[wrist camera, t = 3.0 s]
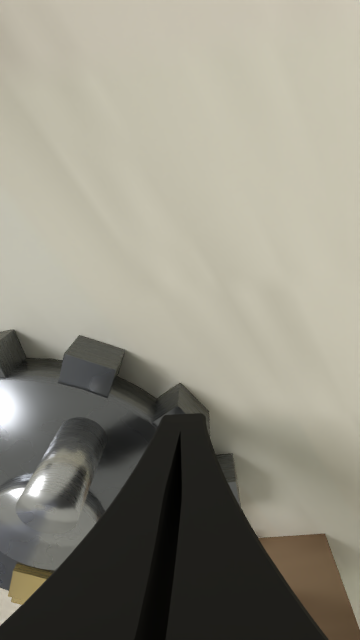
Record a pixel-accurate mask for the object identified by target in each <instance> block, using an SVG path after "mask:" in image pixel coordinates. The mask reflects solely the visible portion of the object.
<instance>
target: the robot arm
mask: <svg viewBox="0 0 360 640" xmlns="http://www.w3.org/2000/svg"><path fill="white" fill-rule="evenodd" d="M0 640H329V639H328V638H327V637H326V635H325V634H324V633H323V631H322V630H321V629H320V627H319V626H318V625H317V623H316V622H315V621H314V619H313V618H312V617H311V615H310V614H309V613H308V611H307V610H306V608H305V607H304V606H303V604H302V603H301V602H300V600H299V599H298V597H297V596H296V595H295V593H294V592H293V590H292V589H291V587H290V586H289V584H288V583H287V582H286V580H285V579H284V577H283V576H282V574H281V573H280V571H279V570H278V568H277V567H276V565H275V564H274V562H273V561H272V559H271V558H270V556H269V555H268V553H267V552H266V550H265V549H264V547H263V545H262V544H261V542H260V540H259V539H258V537H257V535H256V534H255V532H254V530H253V529H252V527H251V525H250V524H249V522H248V520H247V518H246V517H245V515H244V513H243V511H242V510H241V508H240V506H239V504H238V502H237V500H236V498H235V496H234V494H233V492H232V490H231V488H230V486H229V484H228V482H227V480H226V478H225V476H224V473H223V471H222V469H221V466H220V464H219V462H218V459H217V457H216V454H215V452H214V449H213V446H212V443H211V440H210V437H209V433H208V430H207V425H206V416H205V415H204V414H202V413H194V414H173V415H164V416H163V417H162V418H161V421H160V423H159V425H158V427H157V429H156V431H155V433H154V435H153V437H152V439H151V441H150V443H149V445H148V447H147V448H146V450H145V452H144V453H143V455H142V457H141V459H140V460H139V462H138V464H137V465H136V467H135V469H134V470H133V472H132V473H131V475H130V476H129V478H128V479H127V481H126V482H125V484H124V485H123V487H122V488H121V490H120V491H119V493H118V494H117V496H116V497H115V499H114V500H113V501H112V503H111V504H110V506H109V507H108V508H107V510H106V511H105V512H104V514H103V515H102V516H101V517H100V519H99V520H98V521H97V523H96V524H95V525H94V526H93V528H92V529H91V530H90V531H89V533H88V534H87V535H86V536H85V537H84V538H83V540H82V541H81V542H80V543H79V544H78V546H77V547H76V548H75V549H74V550H73V552H72V553H71V554H70V555H69V556H68V557H67V558H66V559H65V561H64V562H63V563H62V564H61V565H60V566H59V567H58V568H57V569H56V570H55V571H54V572H53V573H52V574H51V576H50V577H49V578H48V579H47V580H46V581H45V582H44V583H43V584H42V585H41V586H40V587H39V588H38V589H37V590H36V591H35V592H34V593H33V594H32V595H31V596H30V597H29V598H28V599H27V600H26V601H25V602H24V604H23V605H22V606H20V607H19V608H18V609H17V610H16V611H15V612H14V613H13V614H12V615H11V616H10V617H9V618H8V619H7V620H6V621H5V622H4V623H3V624H2V625H1V626H0Z"/></svg>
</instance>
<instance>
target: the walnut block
mask: <svg viewBox="0 0 360 640" xmlns="http://www.w3.org/2000/svg"><path fill="white" fill-rule="evenodd" d="M258 539H259V540H260V542H261V544H262V545H263V547H264V549H265V550H266V552H267V553H268V555H269V556H270V558H271V559H272V561H273V562H274V564H275V565H276V567H277V568H278V570H279V571H280V573H281V574H282V576H283V577H284V579H285V580H286V582H287V583H288V584H289V586H290V587H291V589H292V590H293V592H294V593H295V595H296V596H297V597H298V599H299V600H300V602H301V603H302V604H303V606H304V607H305V608H306V610H307V611H308V613H309V614H310V615H311V617H312V618H313V619H314V621H315V622H316V623H317V625H318V626H319V627H320V629H321V630H322V631H323V633H324V634H325V635H326V637H327V638H328V639H329V640H360V629H359V627H358V624H357V621H356V618H355V615H354V613H353V610H352V607H351V604H350V602H349V599H348V596H347V593H346V591H345V588H344V585H343V582H342V580H341V577H340V574H339V571H338V569H337V566H336V563H335V560H334V558H333V555H332V552H331V549H330V547H329V544H328V541H327V538H326V535H325V534H314V535H299V536H283V537H268V538H258Z"/></svg>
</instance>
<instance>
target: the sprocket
mask: <svg viewBox="0 0 360 640" xmlns="http://www.w3.org/2000/svg"><path fill="white" fill-rule="evenodd" d="M124 353H125V350H123V349H120V348H117V347H114V346H111V345H108V344H105V343H102V342H99V341H96V340H92V339H89V338H86V337H83V336H80V335H79V336H78V337H77V339H76V340H75V341H74V342H73V344H72V345H71V346H70V347H69V349H68V350H67V351H66V352H65V353H64V358H63V361H60V360H53V359H36V358H26V356H25V354H24V352H23V350H22V347H21V345H20V343H19V341H18V338H17V336H16V334H15V332H14V330H8V331H2V332H0V588H3V589H5V590H8V591H9V594H8V596H9V597H12V600H11V602H13V603H17V604H21V605H23V604H24V602H25V601H26V600H27V599H28V598H29V597H30V596H31V595H32V594H33V593H34V592H35V591H36V590H37V589H38V588H39V587H40V586H41V585H42V584H43V583H44V582H45V581H46V580H47V579H48V578H49V577H50V576H51V574H52V573H53V572H54V571H55V570H56V569H57V568H58V567H59V566H60V565H61V564H62V563H63V562H64V561H65V559H66V558H67V557H68V556H69V555H70V554H71V553H72V552H73V550H74V549H75V548H76V547H77V546H78V544H79V543H80V542H81V541H82V540H83V538H84V537H85V536H86V535H87V534H88V533H89V531H90V530H91V529H92V528H93V526H94V525H95V524H96V523H97V521H98V520H99V519H100V517H101V516H102V515H103V514H104V512H105V511H106V510H107V508H108V507H109V506H110V504H111V503H112V501H113V500H114V499H115V497H116V496H117V494H118V493H119V491H120V490H121V488H122V487H123V485H124V484H125V482H126V481H127V479H128V478H129V476H130V475H131V473H132V472H133V470H134V469H135V467H136V465H137V464H138V462H139V460H140V459H141V457H142V455H143V453H144V452H145V450H146V448H147V447H148V445H149V443H150V441H151V439H152V437H153V435H154V433H155V431H156V429H157V427H158V425H159V423H160V421H161V418H162V417H163V416H164V415H173V414H194V413H202V414H204V415H205V416H206V425H207V430H208V433H209V437H210V424H209V411H208V410H207V409H206V408H205V407H204V406H203V405H202V404H201V403H200V402H199V401H198V400H197V399H196V398H195V397H194V396H193V395H192V394H191V393H190V392H189V391H188V390H187V389H186V388H185V387H184V386H183V385H182V384H181V383H179V384H178V385H176V386H175V387H173V388H172V389H170V390H169V391H168V392H166V393H165V394H163V395H162V396H160V397H159V398H158V399H156V398H154V397H153V396H151V395H150V394H148V393H147V392H145V391H144V390H142V389H141V388H139V387H137V386H135V385H133V384H131V383H129V382H128V381H126V380H124V379H122V378H120V377H118V376H117V375H118V372H119V369H120V366H121V362H122V359H123V356H124ZM216 457H217V459H218V462H219V464H220V466H221V469H222V471H223V473H224V476H225V478H226V480H227V482H228V484H229V486H230V488H231V490H232V492H233V494H234V496H235V498H236V500H237V502H238V504H239V506H240V498H239V490H238V483H237V477H236V471H235V465H234V460H233V454H225V455H216ZM240 508H241V506H240Z"/></svg>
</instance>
